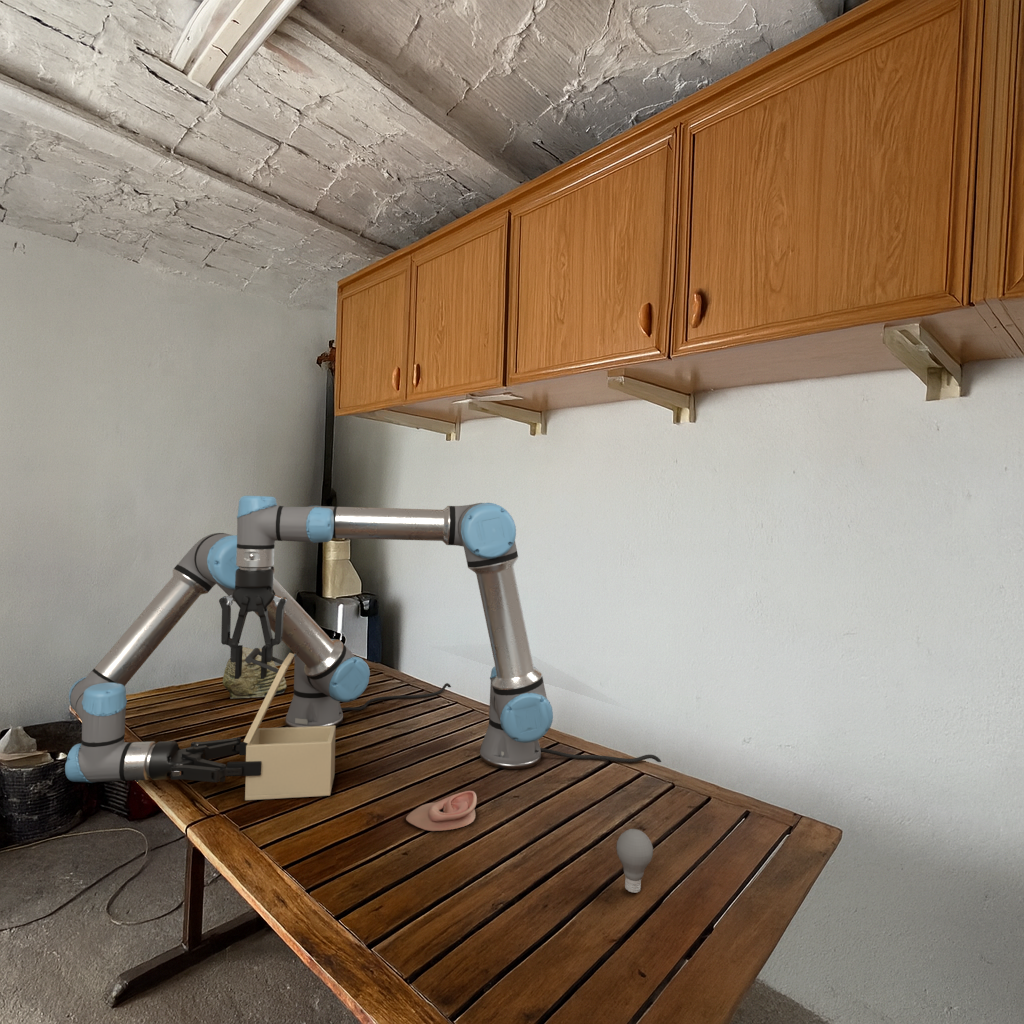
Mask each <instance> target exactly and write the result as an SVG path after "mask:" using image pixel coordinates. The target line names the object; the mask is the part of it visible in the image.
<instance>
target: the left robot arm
mask: <svg viewBox="0 0 1024 1024" xmlns="http://www.w3.org/2000/svg"><path fill="white" fill-rule="evenodd" d="M236 548H237V534H236V535H235V534H229V533H225V532H215V533H210V534H207V535H205V536H203V537H202V538H201V539H199V540H198V541H197V542H196V543H195V544H193V546H192V547H190V549H189V550H188V551H187V552H186V553H185V555H184V556H183V557H182V558H181V559H180V561H179V562H178V563H177V564H176V565H175V566H174V568H173V569H172V577H171V578H170V579H169V580H168V582H167V583H166V584H165V585H164V586H163V587H162V589H161V590H160V591H159V592H158V593H157V594H156V595H155V597H154V598H153V599H152V600H151V601H150V602H149V604H148V605H147V606H146V607H145V609H143V610H142V612H141V613H140V614H139V615H138V617H137V618H136V619H135V620H134V621H133V622H132V623H131V625H130V626H129V627H128V628H127V629H126V631H125V632H124V633H123V634H122V635H121V636H120V637H119V639H118V640H117V641H116V642H115V644H114V645H113V646H111V648H110V649H109V650H108V652H107V653H106V654H105V655H104V656H103V658H102V659H101V660H100V661H98V663H97V664H96V666H95V667H93V668H92V670H91V671H90V673H88V675H86V676H84V677H81V678H79V679H77V680H76V681H75V682H74V683H73V684H72V685H71V687H70V688H69V692H68V700H69V704H70V707H71V709H72V710H73V711H75V713H76V715H77V716H78V718H79V719H80V721H81V741H80V743H77V744H74V745H73V746H72V747H71V748H70V750H69V752H68V754H67V757H66V761H65V765H64V772H65V773H64V774H65V776H66V778H67V780H69V781H70V782H73V783H89V784H93V783H95V784H96V783H108V782H109V783H110V782H129V781H130V782H132V781H134V782H135V783H140V782H141V781H149V780H150V779H151V780H152V781H169V780H172V781H175V780H176V781H177V780H178V781H179V780H186V781H197V782H205V783H206V782H208V783H219V782H220V783H224V782H226V779H227V777H228V778H229V777H230V778H231V777H246V776H260V775H261V761H248V762H246V761H227V763H226V764H225V763H221V762H216V761H213V760H215V759H219V758H223V757H228V756H232V755H237V754H238V756H246V746H247V744H248V743H245V742H244V741H242V737H239V736H238V737H233V738H226V739H225V738H224V739H217V740H208V741H192V742H190V746H189V747H186V748H181V747H179V743H178V742H177V741H174V740H168V741H165V740H164V741H158V742H156V741H154V740H153V741H125V737H126V736H125V735H126V734H125V733H126V717H127V716H126V715H127V713H126V712H127V704H128V699H127V688H126V685H127V684H128V683H129V682H130V681H131V679H132V678H133V677H134V675H136V673H137V672H138V671H139V670H140V668H141V667H142V666H143V665H144V664H145V662H146V661H147V660H148V659H149V658H150V656H151V655H152V654H153V653H154V652H155V650H156V649H157V648H158V647H159V645H160V644H162V642H163V641H164V640H165V639H166V637H167V636H168V635H169V634H170V632H171V631H172V630H173V629H174V628H175V626H176V625H177V624H178V623H179V621H180V620H181V619H182V618H184V616H185V615H186V613H187V612H188V611H189V610H190V608H191V607H192V606H193V605H194V603H196V602H197V600H198V599H199V598H200V596H202V595H206V594H208V593H210V591H211V590H212V588H214V586H216V585H217V586H218V587H219V588H220V589H221V590H222V591H223V592H224V593H225V594H226V595H227V596H230V595H232V594H233V592H234V590H235V575H236V570H237V569H239V567H237V566H236ZM271 569H273V571H274V573H275V572H276V569H275V567H274V566H272V567H271ZM273 590H274V592H275V595H277V596H280V597H282V598H283V597H286V598H287V602H286V604H285V607H284V616H283V636H282V641H281V642H282V643H284V645H286V646H287V647H288V648H289V649H290V650H291V652H293V654H294V657H293V658H294V672H293V695H292V696H293V697H292V699H291V702H290V704H289V708H288V711H287V713H286V715H285V727H310V726H336V728H337V727H339V726H340V725H342V723H343V722H344V714H343V712H346V711H361V710H362V711H363V710H364V709H367V707H368V705H369V704H371V703H373V702H377V701H378V702H379V701H383V700H384V701H385V700H394V699H395V700H396V699H419V698H429V697H433V696H437V695H440V694H442V693H443V692H444V691H445V689H446V688H451V687H452V685H451V684H450V683H448V682H445V683H444V685H443V686H442V687H441V688H440V689H439V690H438V691H434V692H431V693H430V692H429V693H423V694H412V695H411V694H410V695H409V694H408V695H407V694H405V695H402V694H401V695H400V694H399V695H388V696H379V697H373V698H371V699H368V700H367V701H365V703H364V704H363V705H361V706H357V707H354V706H353V707H352V706H350V707H349V706H348V707H347V706H346V707H342V706H341V703H350V702H353V701H355V700H357V699H358V698H359V697H361V695H362V694H363V693H364V692H365V691H366V689H367V688H368V685H369V683H370V676H371V671H370V667H369V665H368V663H367V662H366V661H365V660H364V659H363V658H361V657H359V656H356V655H354V653H353V652H352V651H351V650H350V649H349V648H348V647H347V646H346V645H345V643H343V642H342V641H341V639H336V638H330V637H329V635H328V634H327V633H326V632H325V631H324V630H323V629H322V628H321V626H319V625H318V623H317V622H316V621H315V620H314V619H313V618H312V617H311V616H310V615H309V614H308V613H307V611H305V609H304V608H303V607H302V606H301V604H299V603H298V602H297V601H296V600H295V598H294V597H293V596H292V595H291V594H290V593H289V592H288V591H287V590H286V589H285V588H284V587H283V585H281V583H280V582H279V581H278V579H276V577H275V574H274V575H273ZM232 602H234V603H236V602H235V600H234V599H233V601H232ZM276 609H277V607H276V606H275V601H274V600H272V602H271V603H270V604H269V605H268V606H267V610H268V618H269V623H270V627H271V632H273V633H274V634H275V622H276ZM254 613H255V615H256V616H257V617H259V614H258V612H254Z"/></svg>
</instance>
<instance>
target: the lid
mask: <svg viewBox="0 0 1024 1024" xmlns="http://www.w3.org/2000/svg"><path fill="white" fill-rule="evenodd" d="M259 648H260V647H255V648H253V649H254V650H253V651H252V652H251V653H250V654H249V655H248V656H247V657H246V659H245V662H246V663H254V664H256V665H259V666H261V667H263V668H266V669H268V670H271V671H273V672H276V673H277V675H276V677H275V679H274V681H273V683H272V685H271V687H270V689H269V691H268V693H267V695H266V696H265V697H264V699H263V701H262V703H261V706H260V707H259V709H258V711H257V713H256V715H255V717H254V719H253V721H252V723H251V725H250V727H249V730H248V731H247V733H246V735H245V737H244V740H243V742H245V743H248V744H249V743H250V741H251V740H252V738H253V736H254V734H255V733H256V731H257V729H258V728H260V726H261V724H262V722H263V720H264V717H265V716H266V714H267V712H268V710H269V707H270V705H271V703H272V701H273V699H274V697H275V696H276V695H275V693H276V691H277V689H278V687H279V685H280V683H281V681H282V679H283V677H285V675H286V673H287V671H288V669H289V667H290V665H291V663H292V661H293V659H294V658H295V657H294V655H295V653H292V652H289V653H288V654H287V656H286V657H285V659H284V660H282V659H280V658H278V657H276V656H273V658H272V661H274V663H277V664H279V665H280V667H279V668H278V667H276V668H275V667H272V666H270V665H267V664H265V663H263V662H260V661H258V660H255V658H256V657H257V655H260V656H261V653H262V652H261V651H260V649H259ZM277 668H278V669H277Z"/></svg>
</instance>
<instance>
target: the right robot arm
mask: <svg viewBox="0 0 1024 1024" xmlns="http://www.w3.org/2000/svg"><path fill="white" fill-rule="evenodd" d="M236 520H237V521H236V524H237V525H236V535H237V548H236V566H237V567H239V569H237V570H236V575H235V590H234V592H233V594H232V595H230V596H228V595H227V596H226V595H224V596H222V597H220V599H219V600H218V602H219V605H220V608H221V632H220V633H221V634H220V635H221V636H220V637H221V638H220V643H221V644H222V645H225V646H228V647H229V648H230V657H229V659H230V660H231V662H235V679H239V678H240V677H241V675H242V648H243V647H244V646H243V644H240V641H241V637H242V634H243V630H244V627H245V623H246V620H247V615H248V614H249V613H251V612H254V613H255V612H258V614H259V616H258V618H259V621H260V626H261V631H262V636H263V640H264V645H263V646H262V647H261V649H262V653H261V662H263V663H265V664H267V662H271V660H272V658H273V657H274V656H273V655H274V654H273V653H274V646H277V645H280V644H281V643H282V642H283V641H282V636H283V616H284V607H285V604H286V602H287V598H286V597H283V598H282V597H280V596H277V595H275V592H274V590H273V575H274V576H275V572H274V571H273V569H271V567H272V566H273V567H274V566H275V544H276V542H299V543H313V544H317V543H329V542H331V541H332V539H351V540H353V539H355V540H356V539H357V540H389V541H390V540H391V541H393V540H394V541H425V542H427V541H429V542H430V541H432V542H443V543H444V544H445V545H446V546H455V547H456V546H458V547H462V548H463V551H464V555H465V559H466V564H467V568H468V569H469V570H470V571H472V572H473V573H474V574H475V576H476V579H477V586H478V590H479V595H480V599H481V605H482V609H483V613H484V619H485V624H486V628H487V634H488V637H489V643H490V648H491V652H492V657H493V662H494V666H493V667H492V668H491V670H490V677H489V681H490V685H489V686H490V687H489V688H490V689H489V708H488V711H489V712H488V725H487V729H486V732H485V734H484V737H483V740H482V742H481V745H480V751H479V757H480V759H481V761H482V762H484V763H485V764H487V765H488V766H491V767H494V768H498V769H503V770H524V769H529V768H532V767H534V766H537V765H538V764H539V763H540V762H541V760H542V753H544V754H549V755H554V756H559V757H563V758H567V759H574V760H576V759H577V760H603V761H611V762H618V763H631V764H632V763H638V762H642V761H644V760H649V759H652V760H654V761H656V762H657V763H662V760H661V759H660V757H658V756H656V755H655V754H650V753H649V754H644V755H640V756H638V757H633V758H625V757H616V756H610V755H599V754H598V755H597V754H574V753H573V754H571V753H566V752H562V751H559V750H554V749H549V748H544V747H541V745H540V741H539V740H540V739H542V738H543V737H544V736H545V735H546V734H547V733H548V731H549V730H550V728H551V727H552V725H553V721H554V711H553V706H552V703H551V702H550V701H549V699H548V697H547V692H546V687H545V683H544V678H543V673H542V671H540V670H539V669H537V668H536V666H534V662H533V656H532V652H531V647H530V642H529V636H528V632H527V627H526V621H525V617H524V612H523V607H522V603H521V598H520V593H519V586H518V583H517V578H516V572H515V567H514V566H515V563H516V562H517V560H518V559H519V553H518V549H517V543H516V537H517V528H516V527H517V526H516V523H515V520H514V518H513V517H512V515H511V514H510V512H509V511H508V510H507V509H506V508H505V507H503V506H501V505H499V504H497V503H494V502H493V503H492V502H476V503H472V504H465V505H447V506H446V507H444V509H429V508H394V507H393V508H392V507H363V506H361V507H359V506H357V507H356V506H325V505H309V506H285V505H278V503H277V498H276V497H275V496H268V495H243V496H241V497H240V498H239V500H238V509H237V515H236ZM233 599H234V600H235V602H234V601H233ZM272 600H274V601H275V606H276V607H277V609H276V622H275V633H274V636H273V633H272V632H273V631H272V630H271V627H270V623H269V618H268V610H267V606H268V605H269V604H270V603H271V602H272ZM233 602H234V603H236V605H237V606H238V607H239V610H238V614H237V618H236V619H237V620H236V623H235V626H234V629H233V632H232V633H233V634H232V637H231V626H232V624H231V623H232V621H231V619H232V616H231V615H232V607H231V606H232V605H233V604H234V603H233ZM266 676H267V669H266V668H263V667H261V679H264V678H265V677H266Z"/></svg>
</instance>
